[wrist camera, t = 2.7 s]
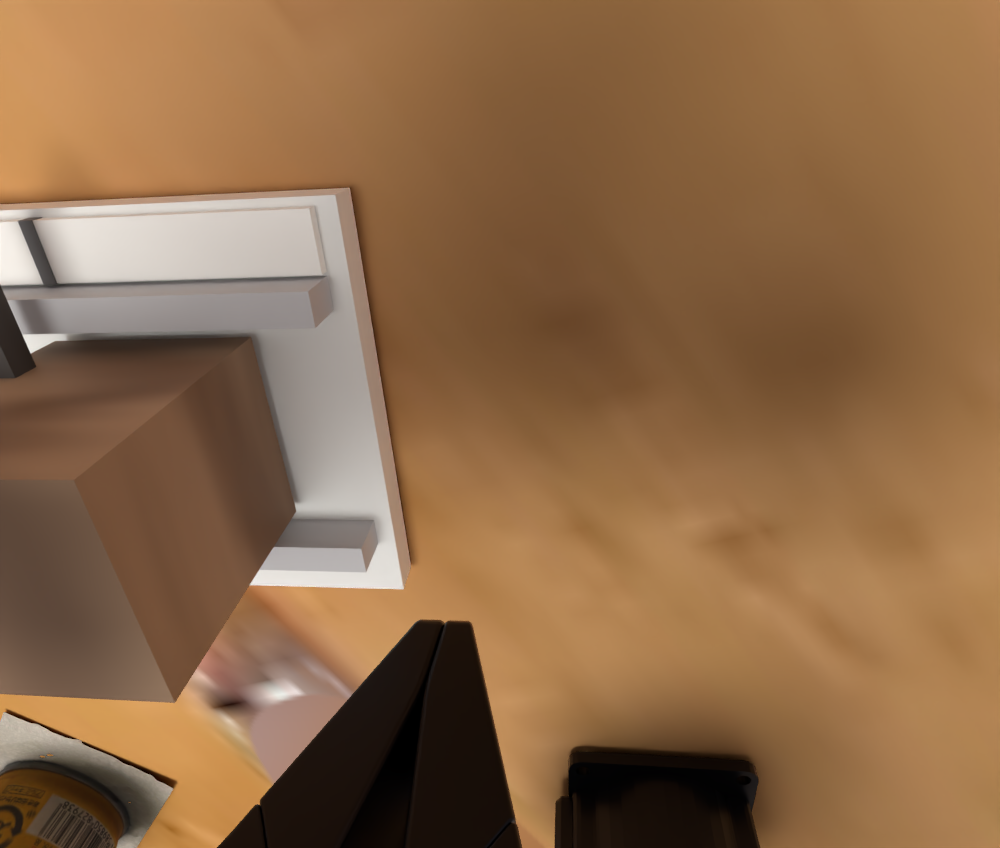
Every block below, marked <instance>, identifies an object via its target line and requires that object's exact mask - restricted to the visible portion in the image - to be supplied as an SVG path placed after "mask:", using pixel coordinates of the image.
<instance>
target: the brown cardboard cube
mask: <svg viewBox="0 0 1000 848" xmlns="http://www.w3.org/2000/svg"><path fill="white" fill-rule="evenodd" d="M295 513H296V508H295V504H294V500H293V496H292V492H291V488H290V484H289V481H288V477H287V473H286V469H285V465H284V461H283V458H282V454H281V450H280V446H279V442H278V438H277V434H276V431H275V427H274V423H273V419H272V415H271V411H270V408H269V404H268V400H267V396H266V392H265V388H264V385H263V381H262V377H261V373H260V369H259V365H258V361H257V358H256V354H255V350H254V346H253V342H252V338H251V337H225V338H176V339H127V340H78V341H54V342H52V343H50V344H48V345H46V346H44V347H43V348H41V349H39V350H37V351H35V352H33V353H30V351H29V349H28V347H27V344H26V342H25V340H24V337H23V335H22V333H21V331H20V328H19V326H18V324H17V322H16V319H15V317H14V315H13V313H12V310H11V308H10V306H9V304H8V301H7V299H6V297H5V295H4V292H3V290H2V288H1V285H0V694H12V695H32V696H52V697H71V698H91V699H111V700H131V701H150V702H170V703H175V702H176V700H177V698H178V697H179V695H180V694H181V692H182V691H183V689H184V687H185V686H186V684H187V683H188V681H189V680H190V678H191V676H192V675H193V673H194V672H195V670H196V669H197V667H198V665H199V664H200V662H201V661H202V659H203V658H204V656H205V654H206V653H207V651H208V650H209V648H210V646H211V645H212V643H213V642H214V640H215V639H216V637H217V635H218V634H219V632H220V631H221V629H222V628H223V626H224V624H225V623H226V621H227V620H228V618H229V617H230V615H231V613H232V612H233V610H234V609H235V607H236V606H237V604H238V602H239V601H240V599H241V598H242V596H243V595H244V593H245V591H246V590H247V588H248V587H249V585H250V584H251V582H252V580H253V579H254V577H255V576H256V574H257V573H258V571H259V569H260V568H261V566H262V565H263V563H264V561H265V560H266V558H267V557H268V555H269V554H270V552H271V550H272V549H273V547H274V546H275V544H276V543H277V541H278V539H279V538H280V536H281V535H282V533H283V532H284V530H285V528H286V527H287V525H288V524H289V522H290V521H291V519H292V517H293V516H294V514H295Z"/></svg>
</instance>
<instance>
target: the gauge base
mask: <svg viewBox="0 0 1000 848" xmlns="http://www.w3.org/2000/svg"><path fill="white" fill-rule="evenodd" d="M0 285H1V288H2V290H3V292H4V295H5V297H6V299H7V301H8V304H9V306H10V308H11V310H12V313H13V315H14V317H15V319H16V322H17V324H18V326H19V328H20V331H21V333H22V335H23V337H24V340H25V342H26V344H27V347H28V349H29V351H30V353H33V352H35V351H37V350H39V349H41V348H43V347H44V346H46V345H48V344H50V343H52V342H54V341H78V340H127V339H176V338H225V337H251V338H252V342H253V346H254V350H255V354H256V358H257V361H258V365H259V369H260V373H261V377H262V381H263V385H264V388H265V392H266V396H267V400H268V404H269V408H270V411H271V415H272V419H273V423H274V427H275V431H276V434H277V438H278V442H279V446H280V450H281V454H282V458H283V461H284V465H285V469H286V473H287V477H288V481H289V484H290V488H291V492H292V496H293V500H294V504H295V508H296V513H295V514H294V516H293V517H292V519H291V521H290V522H289V524H288V525H287V527H286V528H285V530H284V532H283V533H282V535H281V536H280V538H279V539H278V541H277V543H276V544H275V546H274V547H273V549H272V550H271V552H270V554H269V555H268V557H267V558H266V560H265V561H264V563H263V565H262V566H261V568H260V569H259V571H258V573H257V574H256V576H255V577H254V579H253V580H252V582H251V584H250V585H265V586H302V587H339V588H375V589H404V586H405V583H406V580H407V577H408V574H409V571H410V568H411V562H410V556H409V550H408V544H407V538H406V531H405V525H404V519H403V513H402V507H401V500H400V494H399V488H398V482H397V476H396V470H395V463H394V457H393V451H392V445H391V439H390V433H389V426H388V420H387V414H386V408H385V402H384V395H383V389H382V383H381V377H380V371H379V365H378V358H377V352H376V346H375V340H374V334H373V328H372V321H371V315H370V309H369V303H368V297H367V291H366V284H365V278H364V272H363V266H362V260H361V253H360V247H359V241H358V235H357V229H356V223H355V216H354V210H353V204H352V198H351V192H350V188H332V189H311V190H290V191H269V192H248V193H228V194H207V195H186V196H165V197H144V198H124V199H103V200H82V201H61V202H40V203H19V204H0Z"/></svg>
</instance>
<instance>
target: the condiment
mask: <svg viewBox="0 0 1000 848" xmlns="http://www.w3.org/2000/svg"><path fill="white" fill-rule="evenodd" d="M47 754H52V755H54V756H47ZM40 755H41V756H42V755H43V756H45V758H41V757H39V756H40ZM172 790H173V788H171V787H170V786H168V785H166V784H164V783H162V782H159V781H157V780H156V779H155V778H154V777H153V776H152V775H150V774H147V773H144V772H142V771H140V770H139V769H136V768H134V767H133V766H130V765H127V764H124V763H122V762H121V761H119V760H118V759H116V758H114V757H112V756H110V755H107V754H105V753H103V752H100V751H98V750H95V749H93V748H90V747H88V746H86V745H84V744H83V743H82V741H81V740H79V739H70V738H65V737H63V736H60V735H58V734H55V733H53V732H51V731H49V730H48V729H46V728H44V727H42V726H40V725H38V724H34V723H29V722H26V721H24V720H22V719H19V718H17V717H14V716H12V715H10V714H8V713H5V712H4V713H3V716H2V719H1V721H0V848H137V846H138V845H139V843H140V842H141V840H142V838H143V837H144V835H145V833H146V832H147V830H148V829H149V827H150V826H151V824H152V822H153V821H154V819H155V818H156V816H157V815H158V813H159V811H160V810H161V808H162V806H163V805H164V803H165V802H166V800H167V799H168V797H169V795H170V794H171V792H172ZM128 802H131V803H128Z"/></svg>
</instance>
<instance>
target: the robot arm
mask: <svg viewBox="0 0 1000 848" xmlns="http://www.w3.org/2000/svg"><path fill="white" fill-rule="evenodd" d="M757 786H758V776H757V772H756V768H755V766H754V765H753V764H752V763H750V762H748V761H743V760H726V759H708V758H690V757H672V756H654V755H636V754H618V753H600V752H576V753H573V754H572V755H570V757H569V796H561V797H560V798H559V799H558V800H557V801H556V813H555V848H760V845H759V841H758V837H757V833H756V829H755V825H754V820H753V816H752V808H753V804H754V799H755V795H756V790H757ZM217 848H522V845H521V840H520V836H519V831H518V827H517V824H516V821H515V815H514V810H513V806H512V801H511V797H510V792H509V788H508V783H507V779H506V774H505V770H504V765H503V761H502V756H501V752H500V747H499V742H498V738H497V733H496V729H495V724H494V720H493V715H492V711H491V706H490V702H489V697H488V693H487V688H486V684H485V679H484V675H483V670H482V666H481V661H480V657H479V652H478V648H477V643H476V639H475V634H474V630H473V626H472V623H471V622H469V621H447V622H446V623H444V622H443V621H441V620H419V621H417V622H416V623H415V624H414V625H413V626H412V627H411V628H410V629H409V631H408V632H407V633H406V634H405V635H404V636H403V637H402V639H401V640H400V641H399V642H398V643H397V644H396V645H395V647H394V648H393V649H392V650H391V651H390V652H389V653H388V655H387V656H386V657H385V658H384V659H383V660H382V661H381V663H380V664H379V665H378V666H377V667H376V668H375V669H374V671H373V672H372V673H371V674H370V675H369V676H368V677H367V679H366V680H365V681H364V682H363V683H362V684H361V685H360V686H359V688H358V689H357V690H356V691H355V692H354V693H353V694H352V696H351V697H350V698H349V699H348V700H347V701H346V702H345V704H344V705H343V706H342V707H341V708H340V709H339V711H338V712H337V713H336V714H335V715H334V716H333V717H332V718H331V720H330V721H329V722H328V723H327V724H326V725H325V726H324V728H323V729H322V730H321V731H320V732H319V733H318V734H317V736H316V737H315V738H314V739H313V740H312V741H311V743H310V744H309V745H308V746H307V747H306V748H305V749H304V750H303V752H302V753H301V754H300V755H299V756H298V757H297V758H296V759H295V761H294V762H293V763H292V764H291V765H290V766H289V767H288V769H287V770H286V771H285V772H284V773H283V774H282V776H281V777H280V778H279V779H278V780H277V781H276V782H275V783H274V785H273V786H272V787H271V788H270V789H269V790H268V791H267V793H266V794H265V795H264V796H263V797H262V798H261V800H260V805H258V804H257V805H255V806H254V807H253V808H252V809H251V810H250V812H249V813H248V814H247V815H246V816H245V817H244V818H243V820H242V821H241V822H240V823H239V824H238V825H237V826H236V828H235V829H234V830H233V831H232V832H231V833H230V834H229V835H228V836H227V837H226V838H225V840H224V841H223V842H222V843H221V844H220V845H219V846H218V847H217Z"/></svg>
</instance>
